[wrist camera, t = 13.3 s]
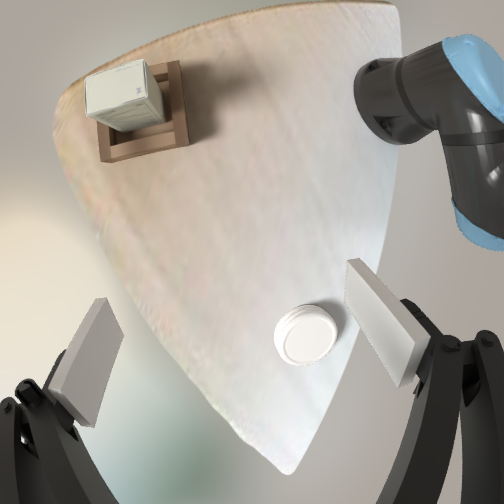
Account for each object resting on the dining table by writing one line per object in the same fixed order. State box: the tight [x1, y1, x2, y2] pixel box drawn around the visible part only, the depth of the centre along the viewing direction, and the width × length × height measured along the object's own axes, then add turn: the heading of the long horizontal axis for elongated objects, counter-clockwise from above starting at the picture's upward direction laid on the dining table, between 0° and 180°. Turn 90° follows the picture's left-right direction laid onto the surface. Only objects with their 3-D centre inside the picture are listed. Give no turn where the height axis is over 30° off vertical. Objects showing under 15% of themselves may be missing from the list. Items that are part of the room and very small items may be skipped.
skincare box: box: [85, 59, 167, 133], centre depth 24 cm, size 6×4×12 cm
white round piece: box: [274, 305, 338, 366], centre depth 42 cm, size 10×10×4 cm
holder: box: [97, 60, 190, 163], centre depth 29 cm, size 11×11×4 cm
